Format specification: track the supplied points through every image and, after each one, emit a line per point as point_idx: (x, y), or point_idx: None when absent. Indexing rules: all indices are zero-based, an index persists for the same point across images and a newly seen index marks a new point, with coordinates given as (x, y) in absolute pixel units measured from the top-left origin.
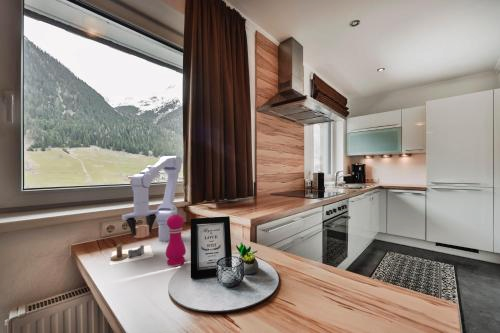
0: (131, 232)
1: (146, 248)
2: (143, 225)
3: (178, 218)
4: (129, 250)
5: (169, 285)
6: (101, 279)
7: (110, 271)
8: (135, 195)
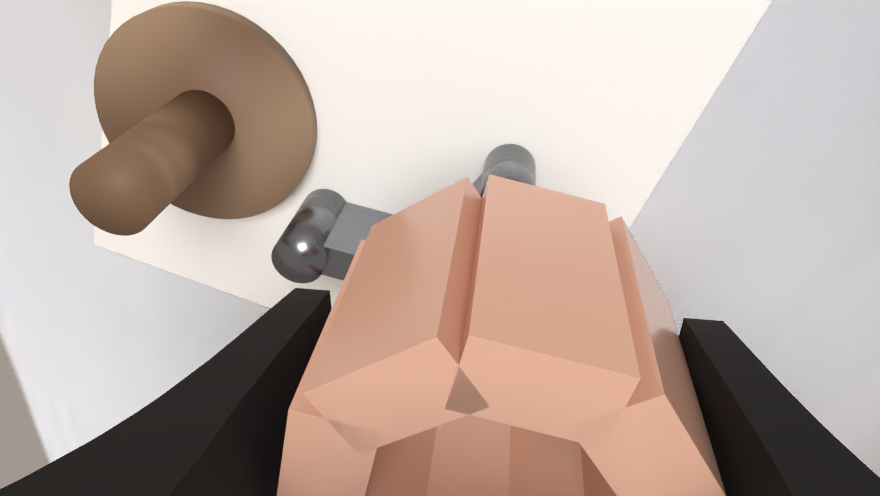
0: (255, 326)
1: (654, 51)
2: (595, 464)
3: None
4: (288, 257)
5: None
6: (55, 396)
7: (116, 321)
8: None
